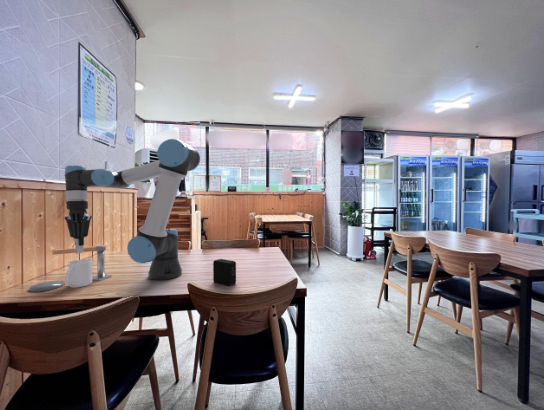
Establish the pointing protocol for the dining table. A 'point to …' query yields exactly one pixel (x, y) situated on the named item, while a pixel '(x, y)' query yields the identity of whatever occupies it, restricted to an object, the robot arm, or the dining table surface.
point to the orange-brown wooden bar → (73, 250)
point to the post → (100, 267)
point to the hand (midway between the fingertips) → (79, 252)
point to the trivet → (47, 286)
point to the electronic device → (224, 272)
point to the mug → (79, 273)
